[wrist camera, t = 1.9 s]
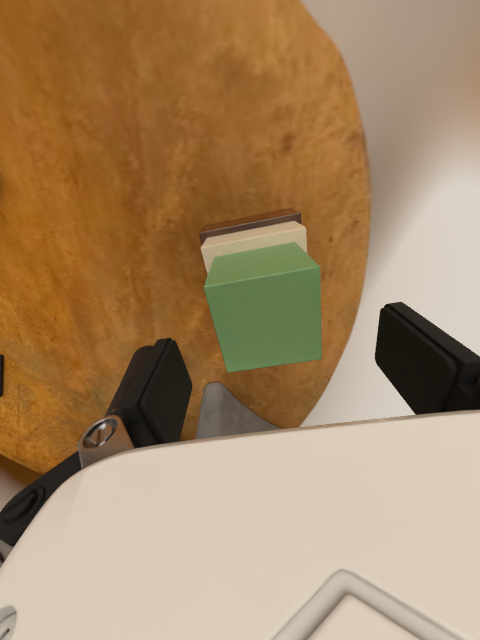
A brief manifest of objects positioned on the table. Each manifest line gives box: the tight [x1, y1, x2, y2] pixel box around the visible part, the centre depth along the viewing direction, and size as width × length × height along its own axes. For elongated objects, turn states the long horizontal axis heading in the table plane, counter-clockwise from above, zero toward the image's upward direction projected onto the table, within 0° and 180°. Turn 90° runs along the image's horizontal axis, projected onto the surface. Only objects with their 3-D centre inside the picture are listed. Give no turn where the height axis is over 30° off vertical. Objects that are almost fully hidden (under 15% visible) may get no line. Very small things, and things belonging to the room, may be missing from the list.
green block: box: [204, 242, 322, 373], centre depth 15 cm, size 6×6×6 cm
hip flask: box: [195, 383, 281, 440], centre depth 26 cm, size 16×4×20 cm, turn 43°
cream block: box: [201, 221, 307, 275], centre depth 19 cm, size 7×7×4 cm
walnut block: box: [199, 209, 301, 245], centre depth 22 cm, size 8×8×4 cm
